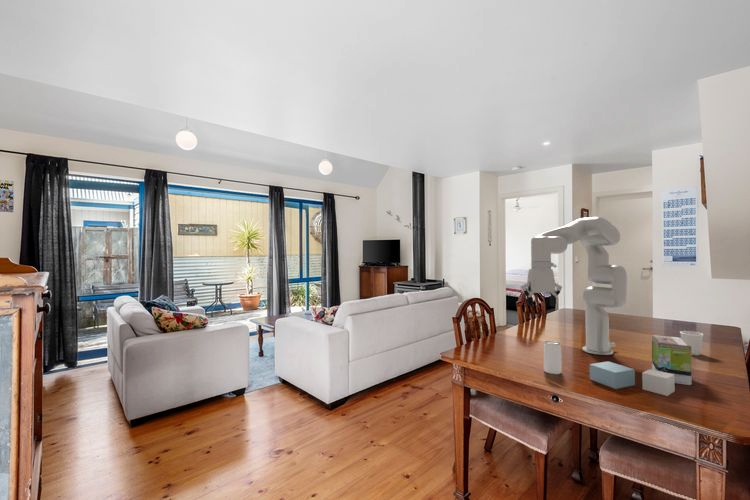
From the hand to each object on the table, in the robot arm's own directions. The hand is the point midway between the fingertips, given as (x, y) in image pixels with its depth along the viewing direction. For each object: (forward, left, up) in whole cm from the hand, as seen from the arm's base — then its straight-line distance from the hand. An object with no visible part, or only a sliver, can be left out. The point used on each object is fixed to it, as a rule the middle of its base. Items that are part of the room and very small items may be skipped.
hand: (541, 306), depth 144 cm
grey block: (-21, +31, -27) cm, 46 cm away
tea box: (-39, +24, -27) cm, 53 cm away
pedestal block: (-13, +20, -27) cm, 36 cm away
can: (-1, +4, -27) cm, 27 cm away
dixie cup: (-82, +7, -27) cm, 87 cm away
